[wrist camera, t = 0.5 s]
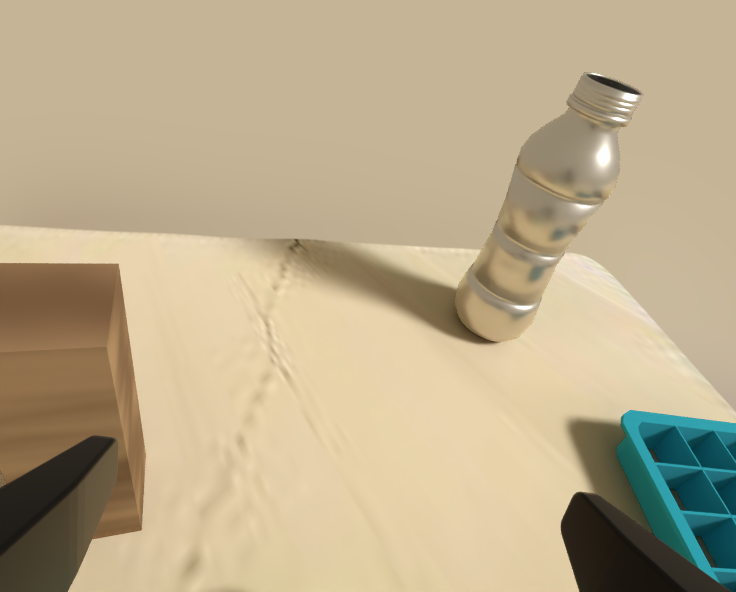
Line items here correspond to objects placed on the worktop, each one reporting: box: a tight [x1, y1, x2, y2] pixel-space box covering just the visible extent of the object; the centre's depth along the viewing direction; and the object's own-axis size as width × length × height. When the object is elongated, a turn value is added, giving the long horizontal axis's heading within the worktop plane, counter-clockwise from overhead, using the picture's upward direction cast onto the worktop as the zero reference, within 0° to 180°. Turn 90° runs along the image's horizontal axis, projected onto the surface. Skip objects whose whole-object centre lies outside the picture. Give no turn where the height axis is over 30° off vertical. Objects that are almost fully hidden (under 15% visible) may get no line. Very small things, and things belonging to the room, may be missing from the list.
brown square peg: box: [0, 263, 146, 539], centre depth 19 cm, size 4×4×13 cm
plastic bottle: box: [455, 72, 643, 342], centre depth 34 cm, size 6×7×20 cm
